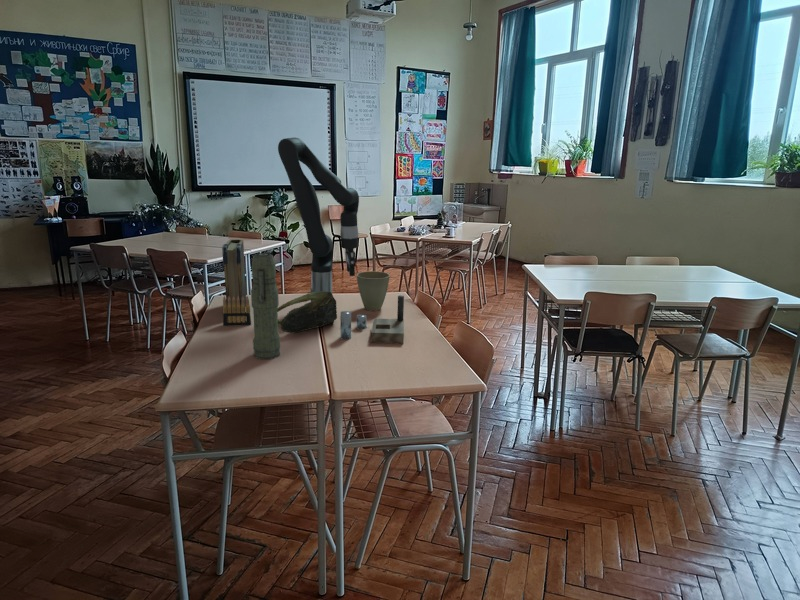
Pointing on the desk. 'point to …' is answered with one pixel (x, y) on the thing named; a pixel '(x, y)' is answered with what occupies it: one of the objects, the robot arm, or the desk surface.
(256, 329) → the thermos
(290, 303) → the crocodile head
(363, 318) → the short pin
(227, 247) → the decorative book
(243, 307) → the ammunition clip
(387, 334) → the hole board
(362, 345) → the desk surface
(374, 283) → the plant pot
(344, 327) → the tall pin
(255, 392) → the desk surface
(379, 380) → the desk surface
